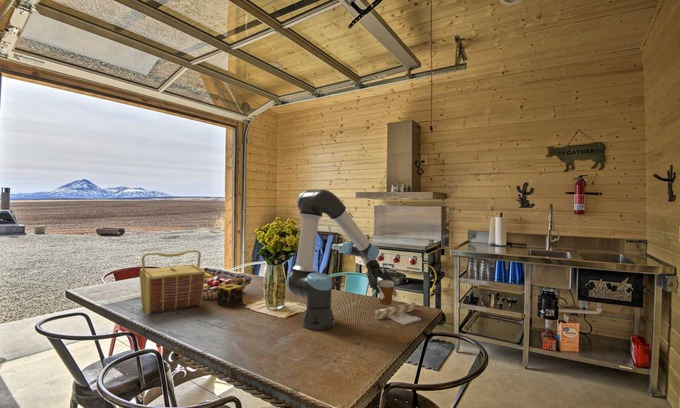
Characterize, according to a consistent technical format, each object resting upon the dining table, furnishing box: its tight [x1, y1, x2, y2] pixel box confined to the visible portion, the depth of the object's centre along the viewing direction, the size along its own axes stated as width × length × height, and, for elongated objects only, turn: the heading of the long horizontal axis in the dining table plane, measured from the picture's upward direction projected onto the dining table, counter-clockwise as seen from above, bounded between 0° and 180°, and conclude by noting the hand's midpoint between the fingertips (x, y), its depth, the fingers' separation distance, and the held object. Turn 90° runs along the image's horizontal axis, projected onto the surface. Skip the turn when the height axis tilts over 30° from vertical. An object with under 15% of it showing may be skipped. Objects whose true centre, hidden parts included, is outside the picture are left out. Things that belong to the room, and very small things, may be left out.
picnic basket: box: [139, 249, 206, 315], centre depth 175 cm, size 29×26×30 cm
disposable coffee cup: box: [377, 279, 396, 306], centre depth 177 cm, size 10×10×12 cm
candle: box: [216, 283, 244, 308], centre depth 183 cm, size 10×10×10 cm
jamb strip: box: [374, 301, 416, 320], centre depth 170 cm, size 28×2×4 cm, turn 126°
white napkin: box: [386, 312, 422, 326], centre depth 163 cm, size 12×12×1 cm
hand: (389, 296), depth 174 cm, fingers closed on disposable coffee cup, 9 cm apart
